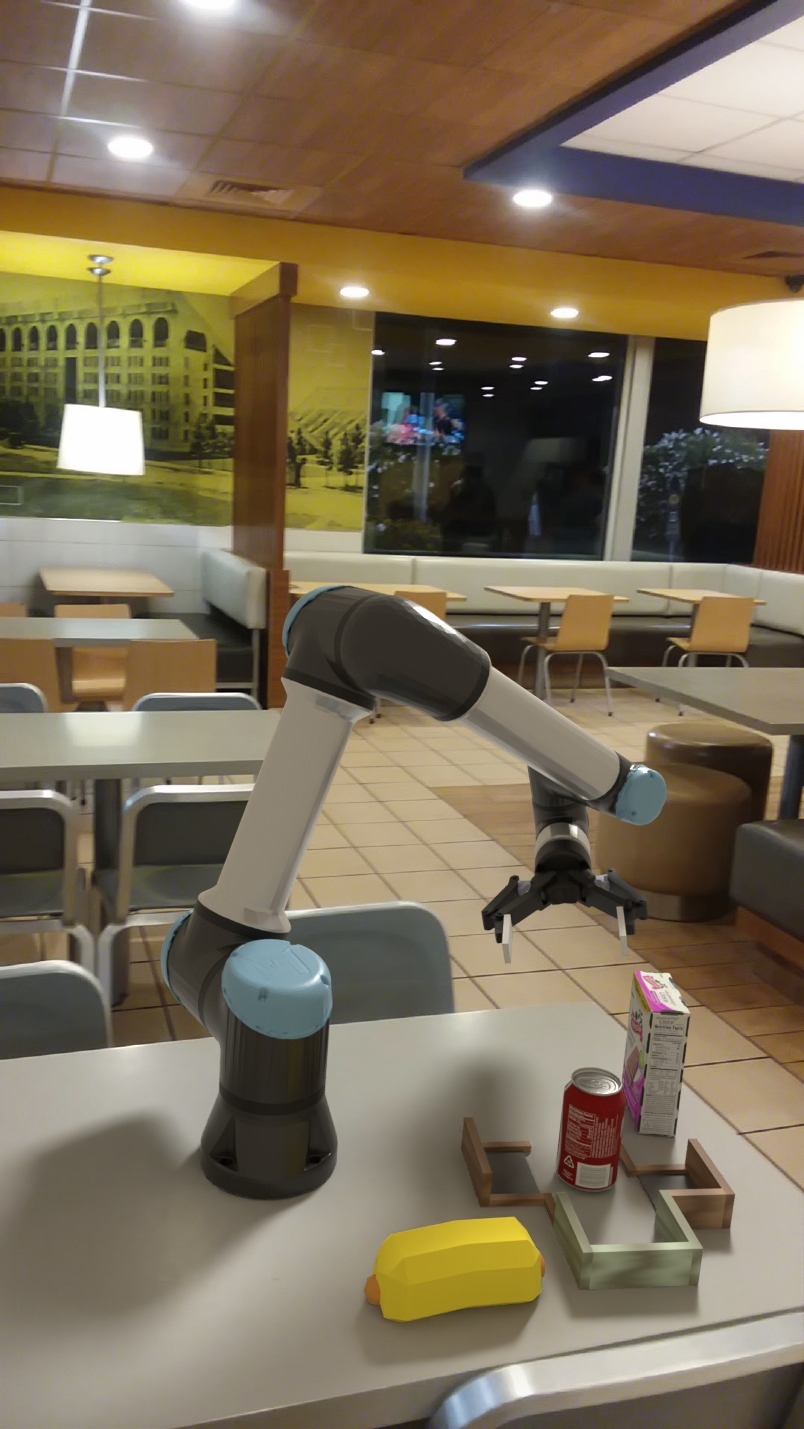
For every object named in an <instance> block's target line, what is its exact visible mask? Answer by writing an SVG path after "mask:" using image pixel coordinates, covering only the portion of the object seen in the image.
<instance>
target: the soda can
mask: <svg viewBox="0 0 804 1429" xmlns="http://www.w3.org/2000/svg"><path fill="white" fill-rule="evenodd" d="M570 1077H571V1078H570V1080H569V1081H568V1082H567V1083H566V1084H565V1085H564V1088H563V1098H562V1105H561V1114H560V1123H559V1131H558V1132H559V1134H558V1143H557V1152H556V1158H555V1171H556V1175H557V1176H558V1177H559V1179H560V1180H561V1181H562V1182H563V1183H564V1184H566V1185H568V1186H569V1187H571V1188H573V1189H576V1190H577V1191H581V1192H585V1193H599V1192H603V1191H607V1190H609V1189H611V1188H613V1186H615V1184H616V1183H617V1181H618V1180H617V1179H618V1170H619V1165H620V1164H619V1163H620V1161H619V1156H620V1148H621V1142H622V1138H623V1130H624V1122H625V1114H626V1105H627V1101H626V1097H625V1095H624V1093H623V1090H622V1079H620V1077H619V1076H618V1075H616V1074H615V1073H613V1072H612V1071H610V1070H606V1069H604V1068H599V1067H593V1066H589V1067H588V1066H587V1067H586V1066H585V1067H580V1068H577V1069H575V1070H574V1071H573V1072H572V1073H571V1076H570Z"/></svg>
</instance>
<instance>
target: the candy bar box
mask: <svg viewBox="0 0 804 1429" xmlns="http://www.w3.org/2000/svg"><path fill="white" fill-rule="evenodd" d="M629 1000H630V1002H629V1009H628V1018H627V1020H628V1021H627V1028H626V1029H627V1031H626V1038H625V1050H624V1058H623V1065H622V1066H623V1067H622V1076H621V1082H622V1091H623V1093H624V1095H625V1097H626V1105H627V1107H628V1109H629V1112H630V1115H631V1117H632V1121H633V1124H634V1126H635V1127H634V1128H635V1130H636V1134H638V1135H642V1136H651V1137H654V1136H655V1137H668V1138H669V1137H671V1138H674V1137H675V1138H676V1135H677V1128H678V1126H677V1125H678V1119H679V1118H678V1117H679V1112H680V1102H681V1095H682V1086H683V1078H684V1077H683V1076H684V1071H685V1070H684V1069H685V1064H686V1063H685V1060H686V1056H687V1055H686V1053H687V1045H688V1035H689V1028H690V1021H691V1020H690V1019H691V1014H692V1013H691V1012H690V1010H689V1009H688V1006H687V1004H686V1002H685V1000H684V998H683V996H682V995H681V992H680V991H679V988H678V986H677V985H676V983H675V980H674V979H673V977H672V975H671V973H669V972H656V971H646V970H636V971H635V970H634V971H633V972H632V982H631V991H630V999H629Z"/></svg>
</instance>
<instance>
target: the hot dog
mask: <svg viewBox="0 0 804 1429" xmlns="http://www.w3.org/2000/svg"><path fill="white" fill-rule="evenodd" d="M377 1249H378V1250H377V1251H376V1257H375V1260H374V1265H373V1270H372V1274H371V1276H369V1277H367V1279H366V1282H365V1287H364V1290H363V1292H364V1294H365V1297H366V1299H367V1302H368V1303H369V1304H371V1305H375V1306H379V1307H380V1308H381V1312H382V1315H383V1318H385V1319H388V1320H390V1321H393V1322H397V1323H401V1324H402V1323H409V1322H411V1321H416V1320H421V1319H425V1318H429V1317H433V1316H438V1315H443V1314H447V1313H450V1312H454V1311H459V1310H463V1309H471V1308H472V1309H473V1308H486V1307H495V1306H506V1305H516V1304H525V1303H529V1302H532V1301H534V1300H535V1299H536V1298H537V1297H538V1296H539V1295H540V1294H541V1293H542V1292H543V1289H542V1284H543V1283H542V1278H544V1277H545V1274H546V1263H545V1260H544V1257H543V1255H542V1254H541V1252H540V1250H539V1249H538V1248H537V1247H536V1245H535V1243H534V1241H533V1240H532V1237H531V1236H530V1234H529V1231H528V1230H527V1229H526V1228H525V1227H524V1226H523V1225H522V1223H521V1222H520V1221H519V1220H518V1219H517V1218H516V1217H515V1216H507V1217H504V1216H503V1217H490V1218H489V1217H488V1218H486V1217H485V1218H471V1219H461V1220H460V1219H458V1220H450V1221H445V1222H441V1223H436V1224H432V1225H427V1226H423V1227H417V1228H412V1229H408V1230H403V1231H399V1232H393V1233H392V1234H389V1235H388V1236H387V1237H386V1238H385V1239H384V1241H383V1243H382V1244H381V1245H380V1246H379V1248H377Z"/></svg>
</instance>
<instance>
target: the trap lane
mask: <svg viewBox="0 0 804 1429" xmlns="http://www.w3.org/2000/svg"><path fill="white" fill-rule="evenodd" d="M460 1149H461V1153H462V1156H463V1160H464V1162H465V1165H466V1168H467V1172H468V1175H469V1178H470V1181H471V1183H472V1187H473V1190H474V1193H475V1196H476V1199H477V1202H478V1205H479V1208H497V1207H498V1208H501V1207H503V1208H505V1207H535V1206H544V1209H545V1211H546V1214H547V1217H548V1218H549V1221H550V1223H551V1226H552V1228H553V1230H554V1233H555V1235H556V1238H557V1240H558V1243H559V1246H560V1247H561V1250H562V1252H563V1255H564V1256H565V1259H566V1261H567V1262H566V1263H567V1264H568V1266H569V1269H570V1272H571V1274H572V1276H573V1278H574V1280H575V1284H576V1285H577V1288H578V1290H583V1291H584V1290H604V1289H606V1290H609V1289H630V1288H634V1289H635V1288H654V1287H655V1288H656V1287H678V1286H679V1287H680V1286H683V1287H684V1286H698V1285H699V1281H700V1275H701V1266H702V1261H703V1255H704V1254H703V1252H704V1248H703V1246H702V1244H701V1243H700V1242H701V1241H699V1239H698V1237H697V1236H696V1234H695V1233H694V1230H713V1229H715V1230H716V1229H717V1230H718V1229H731V1225H732V1218H733V1212H734V1206H735V1205H734V1204H735V1198H736V1193H735V1191H734V1190H733V1189H732V1187H731V1186H730V1184H729V1183H728V1181H727V1180H726V1178H725V1177H724V1176H723V1174H722V1173H721V1172H720V1170H719V1169H718V1167H717V1165H716V1164H715V1163H714V1162H713V1160H712V1159H711V1157H710V1156H709V1154H708V1153H707V1151H706V1150H705V1149H704V1147H703V1146H702V1144H701V1143H700V1142H699V1140H698V1138H688V1139H687V1146H686V1153H685V1160H684V1163H671V1164H670V1163H669V1164H665V1163H664V1164H636V1165H635V1164H634V1162H633V1160H632V1158H631V1156H630V1155H629V1153H628V1151H627V1150H626V1148H625V1146H624V1144H623V1143H622V1141H621V1148H620V1156H619V1163H620V1165H621V1166H622V1169H623V1170H624V1172H625V1174H626V1175H627V1177H628V1178H637V1180H638V1182H639V1183H640V1185H641V1187H642V1189H643V1190H644V1192H645V1195H646V1196H647V1197H648V1199H649V1201H650V1203H651V1204H652V1206H653V1209H654V1210H655V1216H654V1224H653V1225H654V1226H655V1228H656V1229H657V1231H658V1233H659V1235H660V1236H661V1238H662V1241H663V1242H648V1243H647V1242H645V1243H643V1242H641V1243H616V1244H615V1243H613V1244H590V1241H589V1240H588V1237H587V1235H586V1233H585V1231H584V1229H583V1226H582V1224H581V1222H580V1219H579V1218H578V1214H577V1213H576V1210H575V1209H574V1207H573V1204H572V1202H571V1199H570V1197H569V1195H568V1193H567V1192H556V1198H554V1196H553V1193H552V1192H541V1191H540V1190H539V1187H538V1184H537V1181H536V1180H535V1177H534V1175H533V1172H532V1170H531V1168H530V1165H529V1162H528V1161H527V1158H526V1155H525V1154H524V1153H531V1151H532V1145H531V1142H530V1141H529V1140H516V1141H515V1140H513V1141H509V1140H507V1141H502V1140H501V1141H482V1139H481V1137H480V1135H479V1132H478V1129H477V1126H476V1123H475V1121H474V1118H473V1116H463V1122H462V1133H461V1145H460Z"/></svg>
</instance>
